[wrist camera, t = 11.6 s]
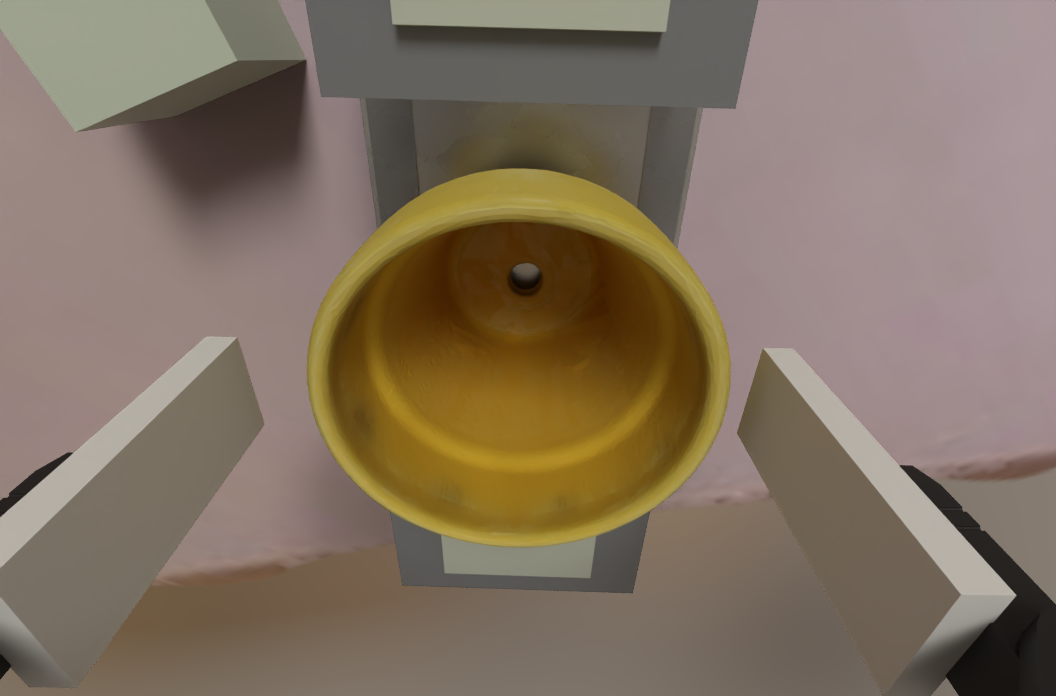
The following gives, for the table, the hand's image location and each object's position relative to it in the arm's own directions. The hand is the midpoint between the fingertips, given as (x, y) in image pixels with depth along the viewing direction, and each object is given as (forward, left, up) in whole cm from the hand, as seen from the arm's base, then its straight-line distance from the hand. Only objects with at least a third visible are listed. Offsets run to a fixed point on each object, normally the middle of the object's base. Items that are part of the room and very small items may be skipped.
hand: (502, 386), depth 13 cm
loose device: (-12, +8, -11) cm, 18 cm away
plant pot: (0, 0, -9) cm, 9 cm away
